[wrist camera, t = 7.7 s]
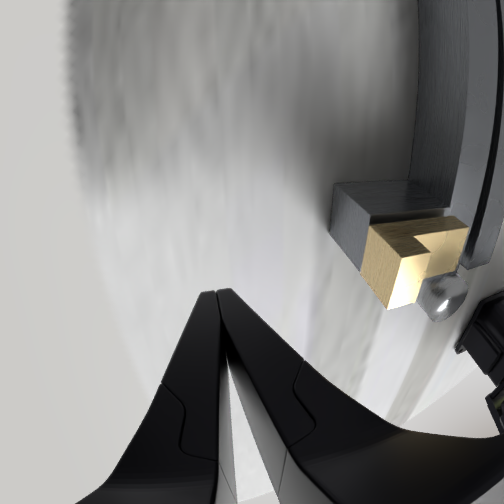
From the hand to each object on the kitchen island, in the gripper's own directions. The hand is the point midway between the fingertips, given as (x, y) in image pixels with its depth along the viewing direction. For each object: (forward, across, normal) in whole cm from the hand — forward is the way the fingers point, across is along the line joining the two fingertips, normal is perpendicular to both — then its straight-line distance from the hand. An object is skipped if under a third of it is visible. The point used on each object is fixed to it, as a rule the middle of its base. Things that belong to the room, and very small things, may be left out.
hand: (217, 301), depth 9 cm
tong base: (+5, -8, -7) cm, 12 cm away
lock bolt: (+1, -7, 0) cm, 7 cm away
